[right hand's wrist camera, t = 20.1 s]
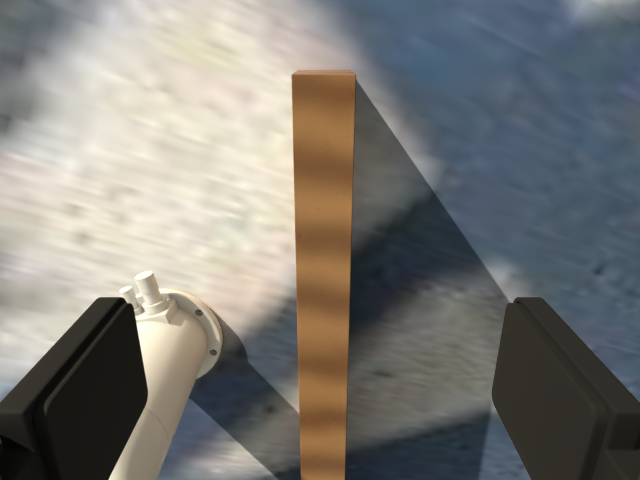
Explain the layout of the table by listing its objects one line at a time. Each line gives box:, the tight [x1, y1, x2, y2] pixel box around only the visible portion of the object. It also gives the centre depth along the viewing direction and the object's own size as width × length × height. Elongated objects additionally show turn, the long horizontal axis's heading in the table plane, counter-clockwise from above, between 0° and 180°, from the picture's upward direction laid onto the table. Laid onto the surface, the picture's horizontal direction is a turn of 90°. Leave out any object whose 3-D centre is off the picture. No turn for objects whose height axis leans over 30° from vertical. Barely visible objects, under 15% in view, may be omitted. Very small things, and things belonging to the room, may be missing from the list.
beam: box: [292, 70, 356, 480], centre depth 54 cm, size 80×5×8 cm, turn 0°
